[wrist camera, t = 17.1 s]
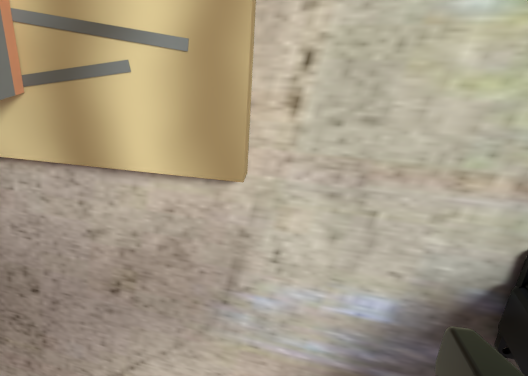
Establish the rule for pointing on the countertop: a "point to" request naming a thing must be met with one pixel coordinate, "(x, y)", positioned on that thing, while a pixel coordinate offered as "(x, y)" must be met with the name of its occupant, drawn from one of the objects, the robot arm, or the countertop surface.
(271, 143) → the countertop surface
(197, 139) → the board
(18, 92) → the block
